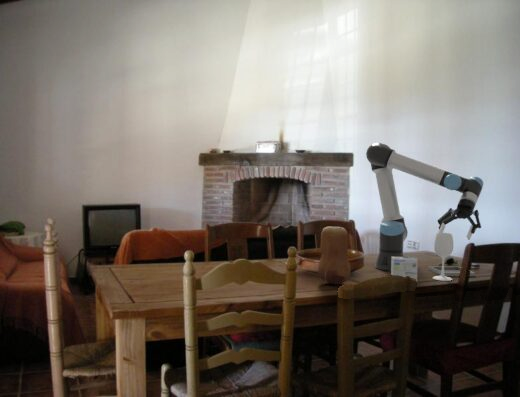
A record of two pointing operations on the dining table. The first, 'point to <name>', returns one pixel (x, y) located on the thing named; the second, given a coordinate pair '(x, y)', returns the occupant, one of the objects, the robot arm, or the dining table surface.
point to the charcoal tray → (448, 270)
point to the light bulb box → (404, 266)
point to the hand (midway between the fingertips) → (453, 236)
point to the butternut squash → (334, 256)
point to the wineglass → (443, 251)
